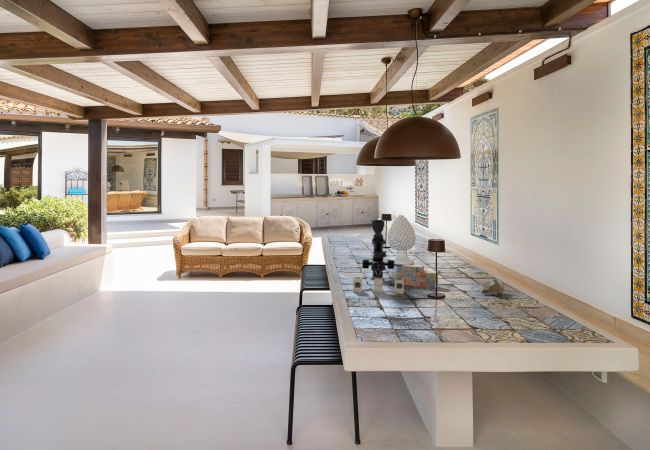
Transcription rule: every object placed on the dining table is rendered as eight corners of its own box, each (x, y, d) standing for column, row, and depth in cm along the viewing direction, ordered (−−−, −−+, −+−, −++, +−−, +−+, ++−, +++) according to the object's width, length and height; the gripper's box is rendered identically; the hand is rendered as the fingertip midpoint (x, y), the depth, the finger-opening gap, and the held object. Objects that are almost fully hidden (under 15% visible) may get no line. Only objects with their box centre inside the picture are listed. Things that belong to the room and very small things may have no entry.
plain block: (373, 291, 284) (374, 277, 283) (382, 291, 284) (382, 277, 283) (373, 293, 279) (374, 279, 279) (382, 293, 279) (382, 279, 278)
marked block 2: (394, 291, 283) (394, 277, 282) (403, 291, 283) (403, 277, 282) (394, 293, 278) (395, 279, 277) (403, 293, 277) (403, 279, 277)
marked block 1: (353, 290, 285) (353, 276, 285) (361, 290, 285) (362, 277, 284) (353, 292, 280) (353, 278, 279) (361, 292, 280) (361, 278, 279)
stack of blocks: (438, 286, 297) (438, 266, 295) (435, 288, 291) (435, 268, 290) (404, 283, 307) (405, 263, 305) (401, 284, 301) (401, 265, 300)
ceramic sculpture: (508, 278, 278) (498, 284, 267) (508, 293, 279) (498, 299, 268) (490, 276, 285) (479, 281, 274) (490, 290, 286) (479, 296, 275)
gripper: (362, 246, 285) (362, 268, 275) (394, 246, 284) (395, 268, 274) (362, 257, 294) (362, 278, 284) (393, 257, 292) (394, 279, 282)
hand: (378, 276), depth 281 cm, fingers closed
